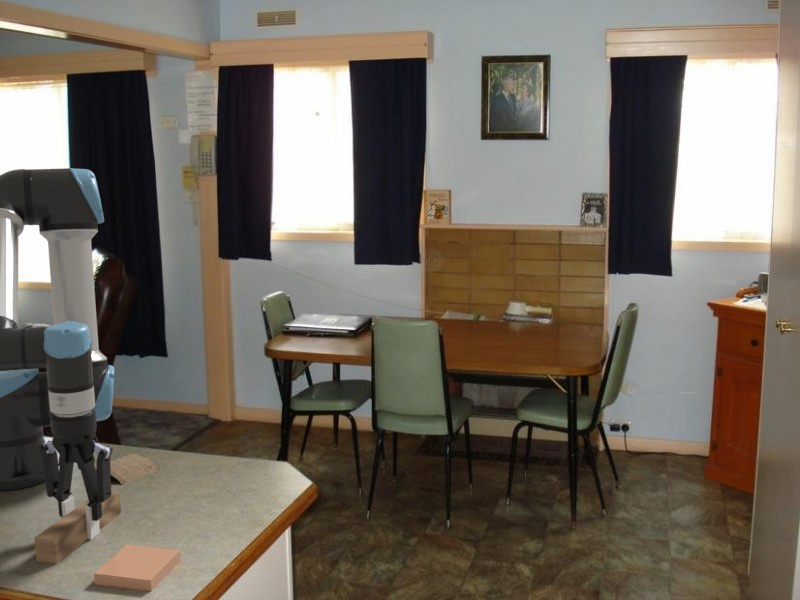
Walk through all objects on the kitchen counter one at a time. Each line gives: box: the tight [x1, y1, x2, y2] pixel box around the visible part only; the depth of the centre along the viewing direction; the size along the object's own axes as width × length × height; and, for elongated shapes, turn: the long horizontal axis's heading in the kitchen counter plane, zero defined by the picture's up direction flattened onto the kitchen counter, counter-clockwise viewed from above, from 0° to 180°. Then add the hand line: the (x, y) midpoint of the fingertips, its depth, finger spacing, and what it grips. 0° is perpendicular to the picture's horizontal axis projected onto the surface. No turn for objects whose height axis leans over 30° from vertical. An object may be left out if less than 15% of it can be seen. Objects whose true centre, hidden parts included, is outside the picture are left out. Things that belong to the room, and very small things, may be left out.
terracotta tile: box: [93, 544, 181, 592], centre depth 141 cm, size 2×10×10 cm
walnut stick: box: [34, 490, 122, 565], centre depth 154 cm, size 20×4×4 cm, turn 167°
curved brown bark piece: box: [95, 453, 161, 485], centre depth 183 cm, size 14×10×3 cm
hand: (82, 534), depth 154 cm, fingers closed on walnut stick, 4 cm apart
